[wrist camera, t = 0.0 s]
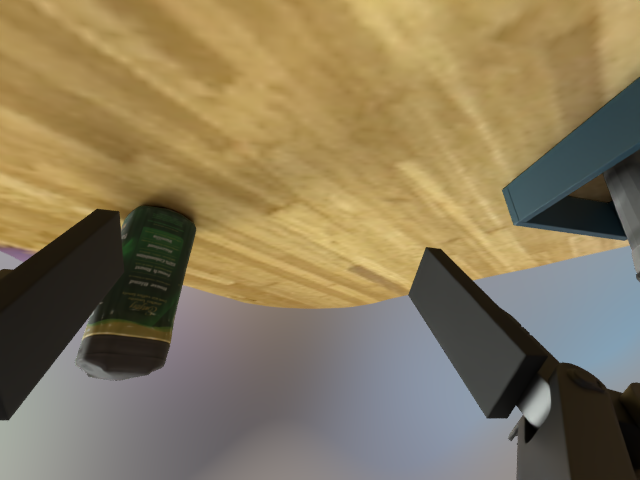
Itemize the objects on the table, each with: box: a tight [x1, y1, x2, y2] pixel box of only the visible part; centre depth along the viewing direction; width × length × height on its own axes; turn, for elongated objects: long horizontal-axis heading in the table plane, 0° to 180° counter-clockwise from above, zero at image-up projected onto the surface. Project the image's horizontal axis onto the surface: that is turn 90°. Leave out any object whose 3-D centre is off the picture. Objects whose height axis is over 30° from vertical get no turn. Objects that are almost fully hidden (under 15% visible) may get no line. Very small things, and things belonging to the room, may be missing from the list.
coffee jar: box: [75, 206, 196, 381], centre depth 36 cm, size 10×8×19 cm
